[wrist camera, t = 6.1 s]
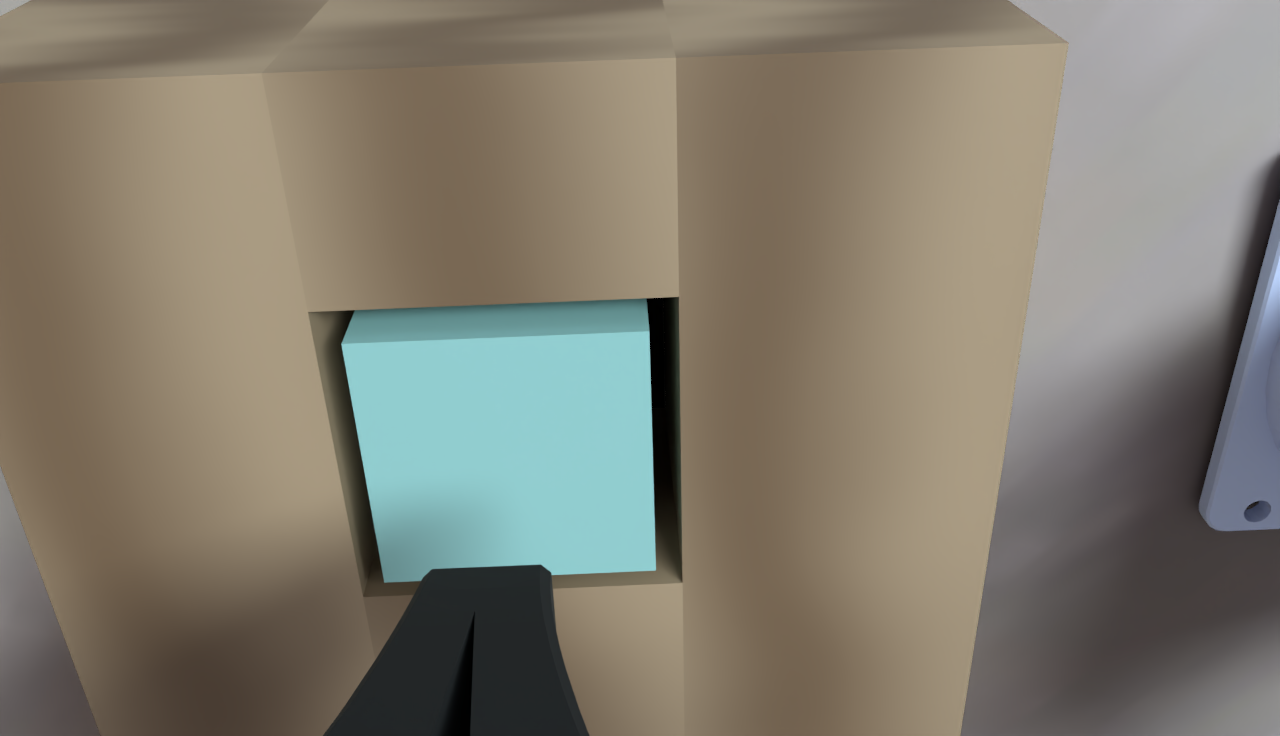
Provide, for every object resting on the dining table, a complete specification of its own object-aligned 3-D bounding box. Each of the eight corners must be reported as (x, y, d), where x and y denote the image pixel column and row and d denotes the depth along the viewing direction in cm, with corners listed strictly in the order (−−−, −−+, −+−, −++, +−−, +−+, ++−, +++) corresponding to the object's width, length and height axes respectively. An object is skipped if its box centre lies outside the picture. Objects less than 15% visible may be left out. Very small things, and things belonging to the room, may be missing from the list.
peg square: (637, 191, 19) (649, 331, 15) (643, 395, 21) (656, 570, 17) (398, 201, 19) (341, 344, 15) (427, 404, 21) (384, 582, 17)
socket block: (952, -39, 18) (1069, 43, 13) (858, 878, 29) (905, 1086, 24) (42, -6, 18) (-141, 88, 13) (297, 906, 28) (243, 1120, 24)
